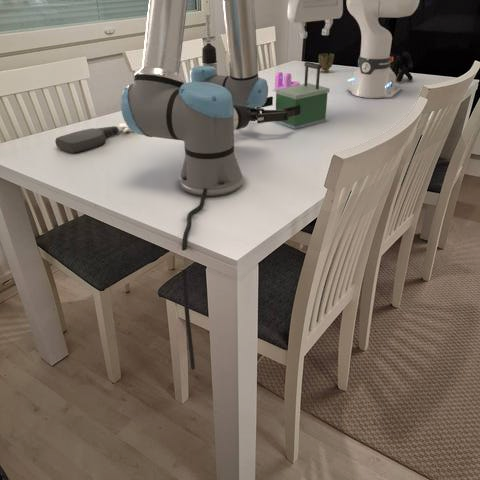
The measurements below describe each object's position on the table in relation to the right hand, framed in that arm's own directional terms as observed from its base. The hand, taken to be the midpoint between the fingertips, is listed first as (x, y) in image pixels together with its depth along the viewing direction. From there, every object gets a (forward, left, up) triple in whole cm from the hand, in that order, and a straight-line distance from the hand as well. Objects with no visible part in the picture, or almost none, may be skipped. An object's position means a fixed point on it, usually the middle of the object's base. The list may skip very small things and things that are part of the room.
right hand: (314, 36), depth 140 cm
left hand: (+10, -3, -20) cm, 22 cm away
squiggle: (-73, -2, -26) cm, 78 cm away
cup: (-68, -38, -26) cm, 82 cm away
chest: (+4, -1, -26) cm, 27 cm away
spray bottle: (+59, -38, -26) cm, 75 cm away
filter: (+2, -46, -26) cm, 53 cm away
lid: (+4, -1, -17) cm, 17 cm away
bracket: (-31, -32, -26) cm, 52 cm away
